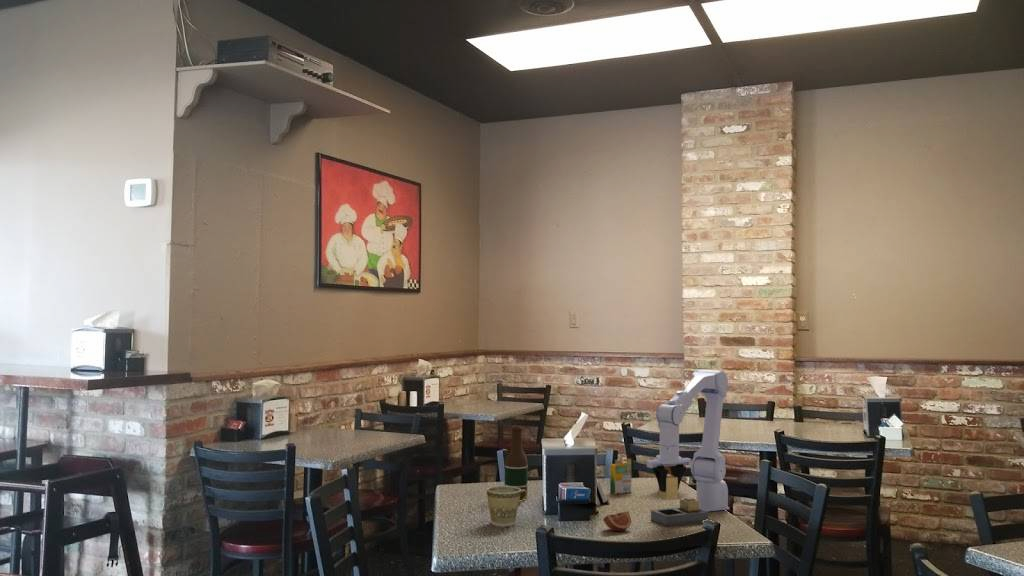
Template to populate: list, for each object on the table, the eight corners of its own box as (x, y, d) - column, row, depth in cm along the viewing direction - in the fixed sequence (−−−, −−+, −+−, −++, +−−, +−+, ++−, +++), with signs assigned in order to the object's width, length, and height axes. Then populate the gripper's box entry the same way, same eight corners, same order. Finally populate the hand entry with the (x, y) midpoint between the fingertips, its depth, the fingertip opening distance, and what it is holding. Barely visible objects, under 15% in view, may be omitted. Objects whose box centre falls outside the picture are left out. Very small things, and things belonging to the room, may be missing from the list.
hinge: (611, 504, 258) (602, 475, 257) (598, 510, 256) (589, 481, 255) (587, 493, 273) (578, 466, 272) (575, 499, 272) (567, 471, 271)
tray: (692, 515, 244) (692, 494, 244) (708, 522, 237) (708, 500, 237) (650, 520, 238) (651, 498, 238) (666, 526, 231) (666, 504, 231)
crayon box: (626, 490, 279) (626, 457, 279) (631, 492, 276) (632, 458, 276) (609, 492, 275) (609, 458, 275) (615, 494, 272) (615, 460, 273)
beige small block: (669, 495, 240) (669, 473, 241) (677, 497, 237) (677, 475, 237) (658, 496, 239) (658, 474, 239) (666, 498, 235) (666, 476, 236)
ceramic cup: (497, 530, 225) (498, 494, 225) (479, 522, 233) (480, 488, 233) (535, 524, 232) (536, 489, 232) (517, 516, 240) (517, 483, 240)
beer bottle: (531, 498, 265) (532, 425, 266) (519, 502, 259) (520, 428, 259) (512, 495, 269) (513, 423, 270) (499, 499, 263) (500, 426, 264)
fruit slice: (613, 535, 221) (613, 517, 221) (597, 529, 227) (597, 512, 227) (635, 531, 226) (635, 513, 226) (619, 525, 231) (619, 508, 232)
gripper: (681, 441, 245) (681, 486, 244) (641, 444, 239) (640, 489, 238) (695, 445, 238) (695, 490, 238) (654, 447, 232) (654, 494, 232)
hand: (668, 490), depth 238 cm, fingers closed on beige small block, 4 cm apart
